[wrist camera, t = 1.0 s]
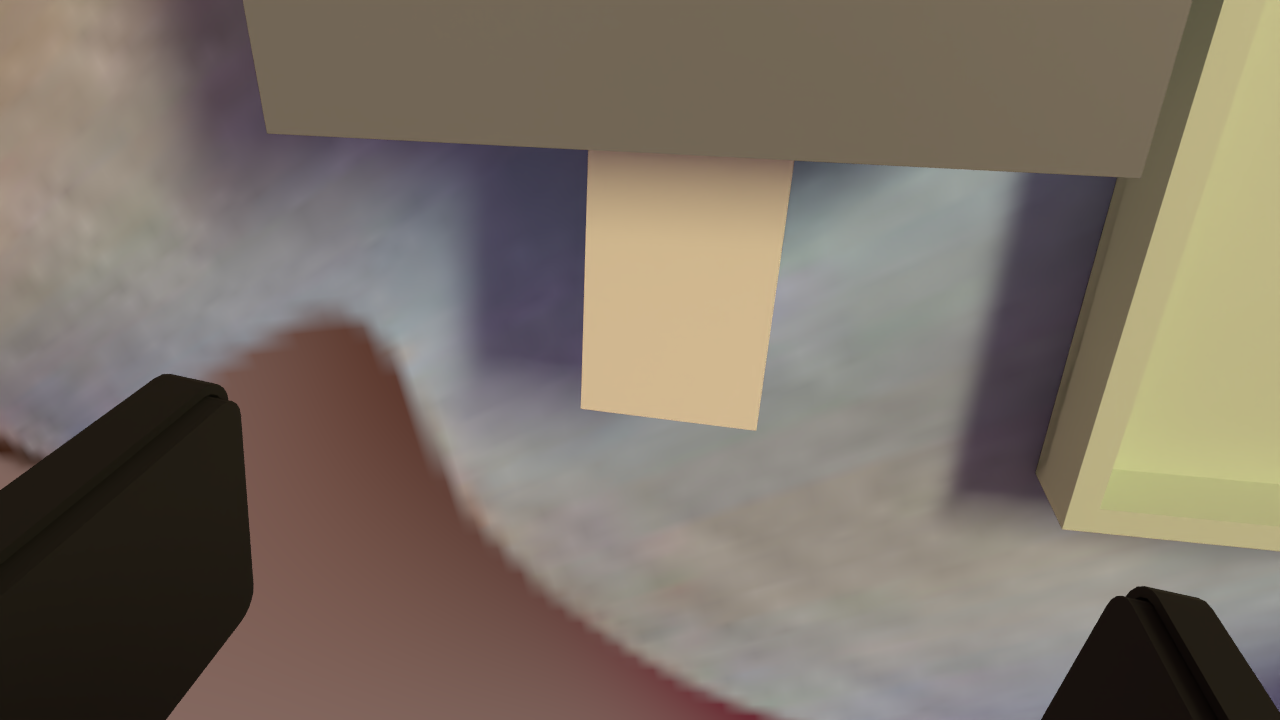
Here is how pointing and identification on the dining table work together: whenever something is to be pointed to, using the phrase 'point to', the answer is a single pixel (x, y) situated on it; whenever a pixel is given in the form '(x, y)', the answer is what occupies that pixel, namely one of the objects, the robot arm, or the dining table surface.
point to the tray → (1185, 312)
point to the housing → (733, 77)
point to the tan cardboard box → (681, 284)
